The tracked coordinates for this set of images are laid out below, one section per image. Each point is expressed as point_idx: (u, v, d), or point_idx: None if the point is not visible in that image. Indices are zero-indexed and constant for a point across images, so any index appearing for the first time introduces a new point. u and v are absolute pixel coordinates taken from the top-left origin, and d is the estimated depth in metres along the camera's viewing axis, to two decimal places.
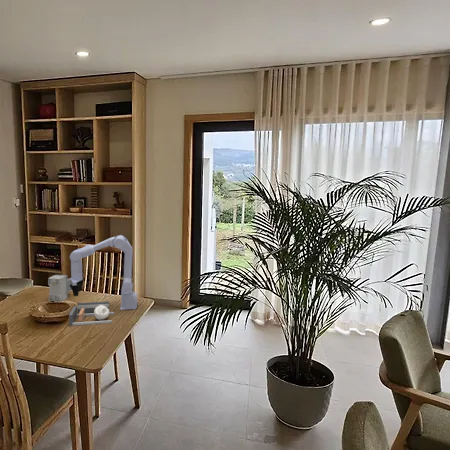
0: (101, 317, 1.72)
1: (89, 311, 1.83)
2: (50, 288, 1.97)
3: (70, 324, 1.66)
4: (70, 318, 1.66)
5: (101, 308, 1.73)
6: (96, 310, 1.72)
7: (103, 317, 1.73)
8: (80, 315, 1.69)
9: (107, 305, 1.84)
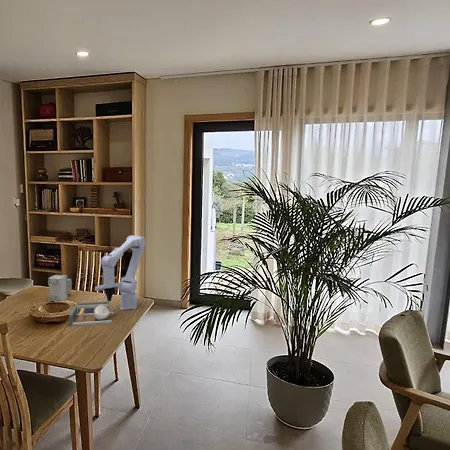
0: (101, 317, 1.72)
1: (89, 311, 1.83)
2: (50, 288, 1.97)
3: (70, 324, 1.66)
4: (70, 318, 1.66)
5: (101, 308, 1.73)
6: (96, 310, 1.72)
7: (103, 317, 1.73)
8: (80, 315, 1.69)
9: (107, 305, 1.84)
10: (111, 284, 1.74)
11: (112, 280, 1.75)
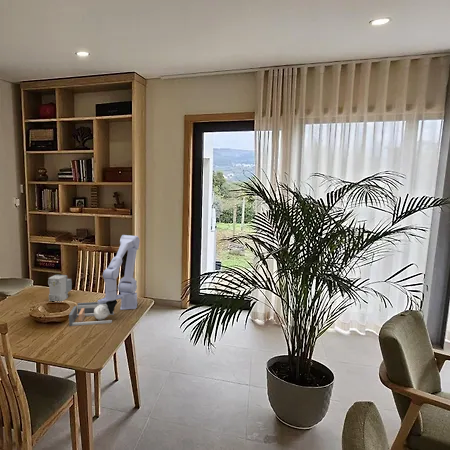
0: (101, 317, 1.72)
1: (89, 311, 1.83)
2: (50, 288, 1.97)
3: (70, 324, 1.66)
4: (70, 318, 1.66)
5: (101, 308, 1.73)
6: (96, 310, 1.72)
7: (103, 317, 1.73)
8: (80, 315, 1.69)
9: None
10: (114, 297, 1.73)
11: (115, 292, 1.74)
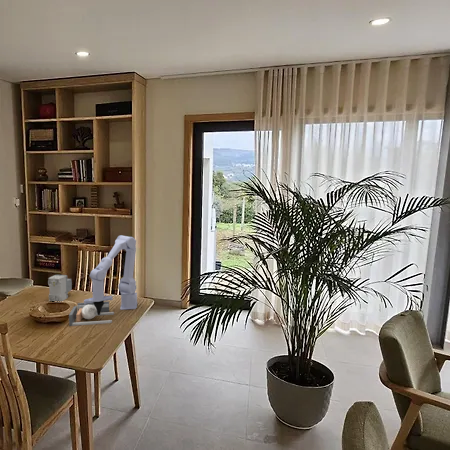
0: (86, 317, 1.72)
1: None
2: (50, 288, 1.97)
3: (70, 324, 1.66)
4: (70, 318, 1.66)
5: (88, 308, 1.73)
6: (83, 309, 1.73)
7: (88, 317, 1.72)
8: (78, 315, 1.68)
9: (107, 305, 1.84)
10: (100, 298, 1.71)
11: (101, 294, 1.72)
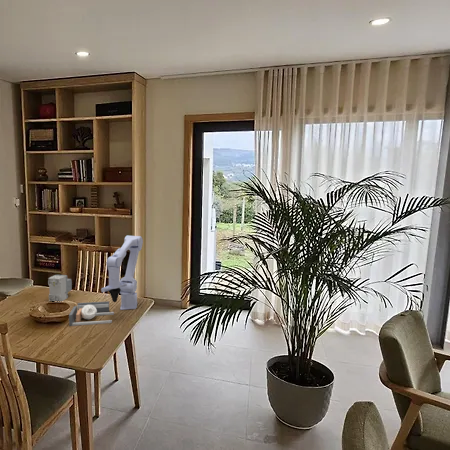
0: (86, 317, 1.72)
1: None
2: (50, 288, 1.97)
3: (70, 324, 1.66)
4: (70, 318, 1.66)
5: (87, 308, 1.73)
6: (83, 309, 1.73)
7: (88, 317, 1.72)
8: (78, 315, 1.68)
9: (107, 305, 1.84)
10: (117, 284, 1.74)
11: (118, 280, 1.75)
